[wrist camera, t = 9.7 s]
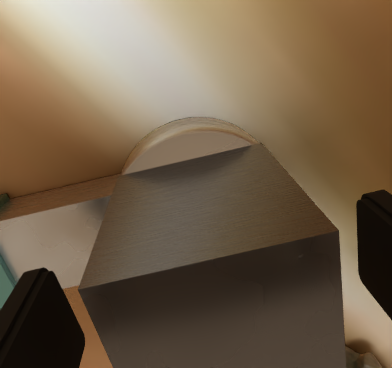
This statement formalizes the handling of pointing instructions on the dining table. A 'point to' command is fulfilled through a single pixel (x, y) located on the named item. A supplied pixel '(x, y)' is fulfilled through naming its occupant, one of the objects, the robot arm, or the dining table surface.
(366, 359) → the elongated rock
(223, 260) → the brushed metal cube
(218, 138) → the ratchet
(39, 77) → the dining table surface
